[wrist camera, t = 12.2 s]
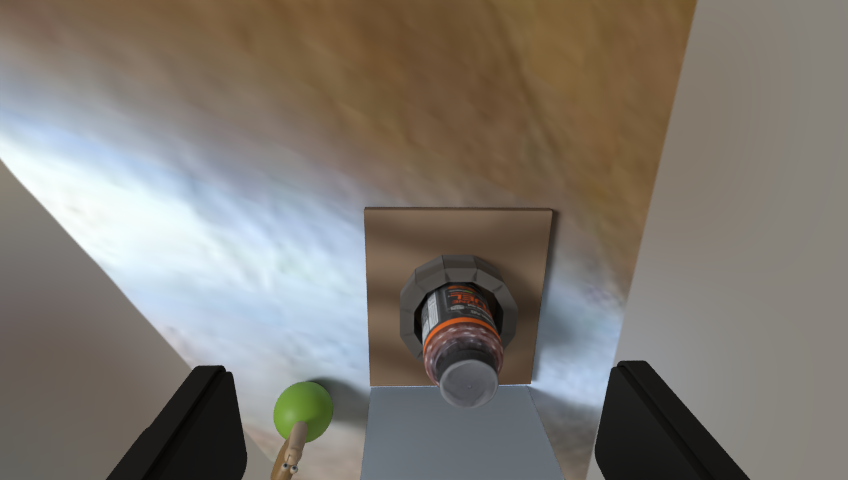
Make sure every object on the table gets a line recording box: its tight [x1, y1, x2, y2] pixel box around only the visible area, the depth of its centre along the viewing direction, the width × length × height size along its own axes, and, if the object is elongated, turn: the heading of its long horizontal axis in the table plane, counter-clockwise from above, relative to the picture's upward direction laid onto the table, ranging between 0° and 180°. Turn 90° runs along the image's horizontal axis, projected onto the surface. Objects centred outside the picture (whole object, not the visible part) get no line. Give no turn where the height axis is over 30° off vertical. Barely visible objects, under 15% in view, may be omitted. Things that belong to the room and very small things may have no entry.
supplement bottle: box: [421, 282, 504, 409], centre depth 32 cm, size 6×6×11 cm
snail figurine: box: [271, 382, 333, 480], centre depth 36 cm, size 5×6×12 cm
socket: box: [364, 207, 552, 386], centre depth 37 cm, size 18×16×4 cm
